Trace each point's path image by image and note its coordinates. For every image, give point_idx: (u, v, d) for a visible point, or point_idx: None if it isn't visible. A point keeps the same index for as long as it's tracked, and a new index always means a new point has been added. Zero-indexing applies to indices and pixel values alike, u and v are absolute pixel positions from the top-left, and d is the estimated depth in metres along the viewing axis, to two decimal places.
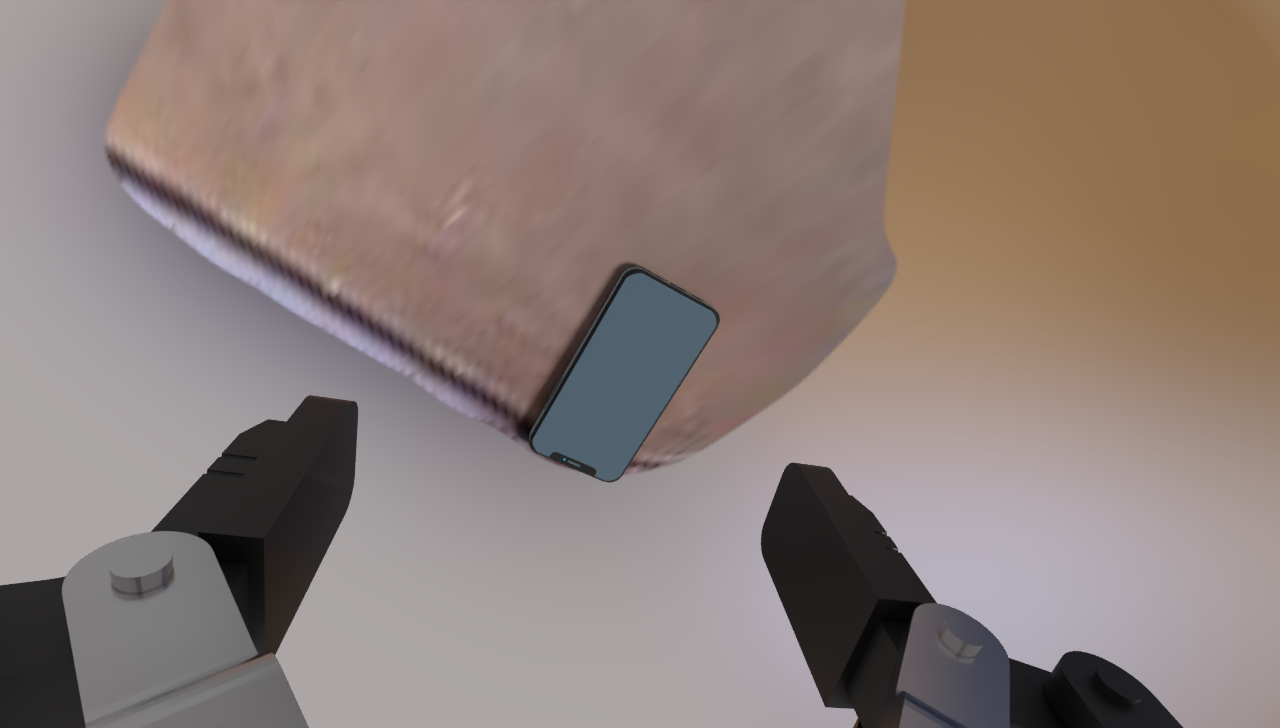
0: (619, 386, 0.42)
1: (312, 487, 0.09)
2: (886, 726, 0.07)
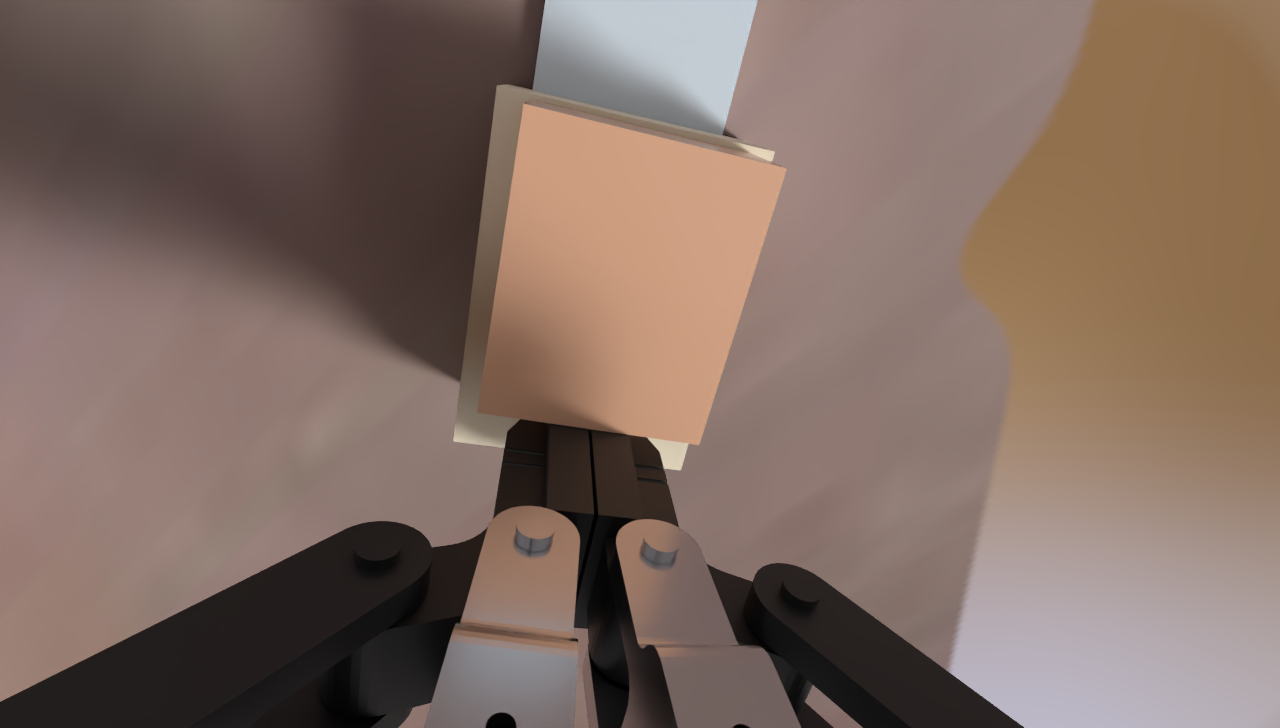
0: None
1: None
2: (645, 685, 0.06)
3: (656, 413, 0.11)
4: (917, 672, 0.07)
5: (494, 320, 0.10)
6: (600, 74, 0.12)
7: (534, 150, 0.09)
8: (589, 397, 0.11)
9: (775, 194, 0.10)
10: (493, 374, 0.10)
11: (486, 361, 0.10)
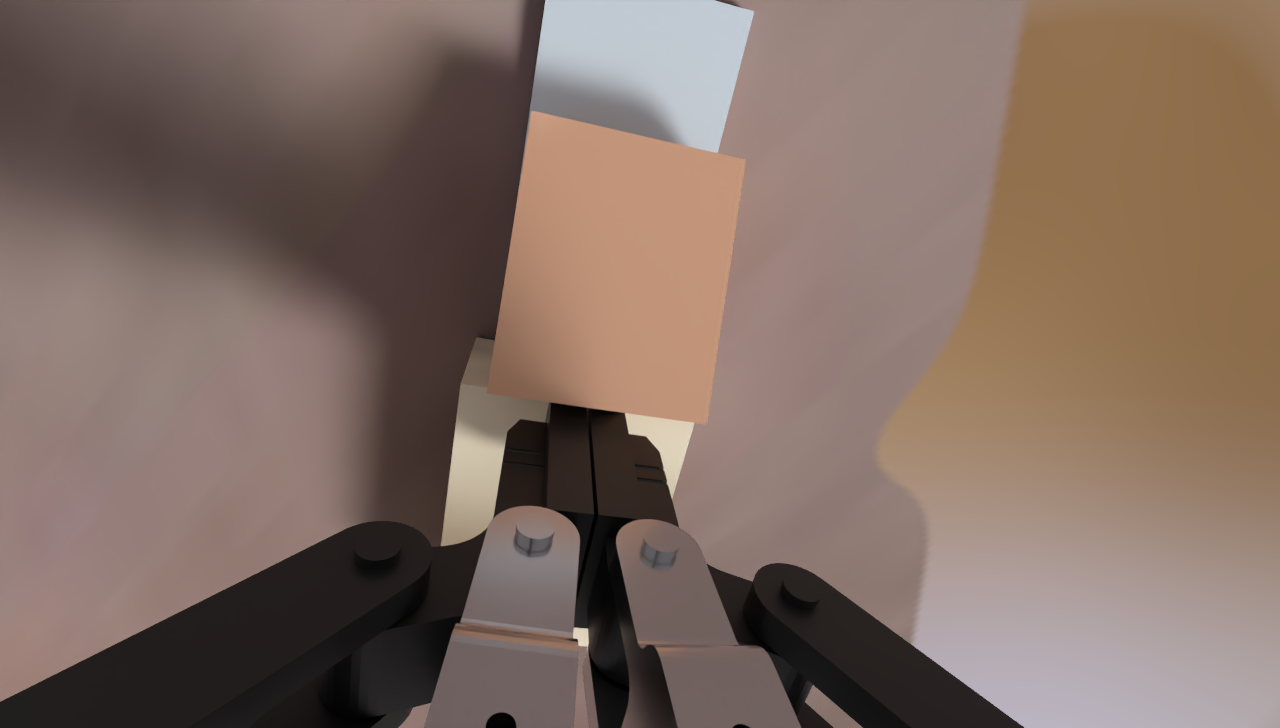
0: None
1: None
2: (645, 685, 0.06)
3: (661, 389, 0.11)
4: (916, 673, 0.07)
5: (505, 296, 0.11)
6: None
7: (540, 146, 0.11)
8: (596, 373, 0.11)
9: (740, 181, 0.12)
10: (503, 351, 0.11)
11: (497, 336, 0.11)
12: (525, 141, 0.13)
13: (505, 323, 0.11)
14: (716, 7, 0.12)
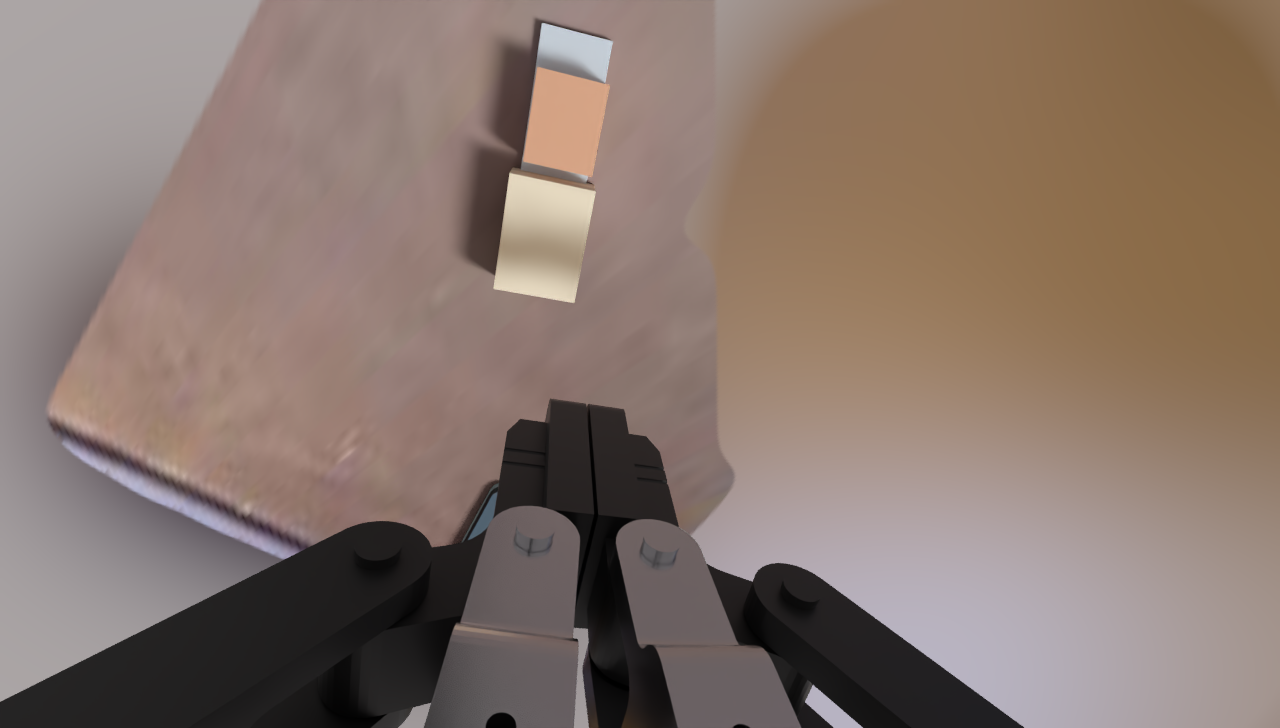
0: None
1: None
2: (645, 685, 0.06)
3: (577, 164, 0.36)
4: (917, 673, 0.07)
5: (528, 130, 0.35)
6: None
7: (540, 79, 0.34)
8: (556, 157, 0.35)
9: (607, 92, 0.34)
10: (527, 148, 0.35)
11: (526, 143, 0.35)
12: None
13: (528, 139, 0.35)
14: (599, 40, 0.35)
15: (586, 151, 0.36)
